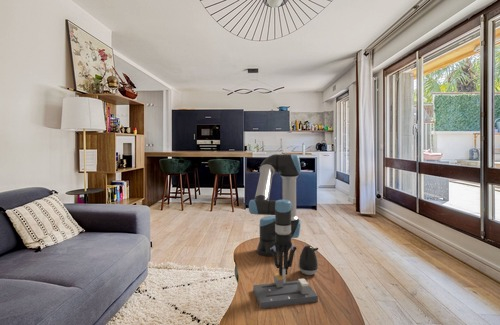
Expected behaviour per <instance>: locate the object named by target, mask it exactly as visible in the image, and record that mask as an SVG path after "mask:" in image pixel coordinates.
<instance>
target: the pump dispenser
mask: <svg viewBox="0 0 500 325" xmlns="http://www.w3.org/2000/svg"><path fill="white" fill-rule="evenodd" d="M318 250H319V247H315V248H314V247H312V246H311V245H309V244H308V245H305V246H304V247H303V248H302V250H301V252H300V256H299V258H298V259H299V261H298V268H299V270H300V272H301V273H302V274H304V275H306V276H313V275H315V274H316V273H317V271H318V268H319V264H318V263H319V261H318V258H317V255H316V251H318Z"/></svg>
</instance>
